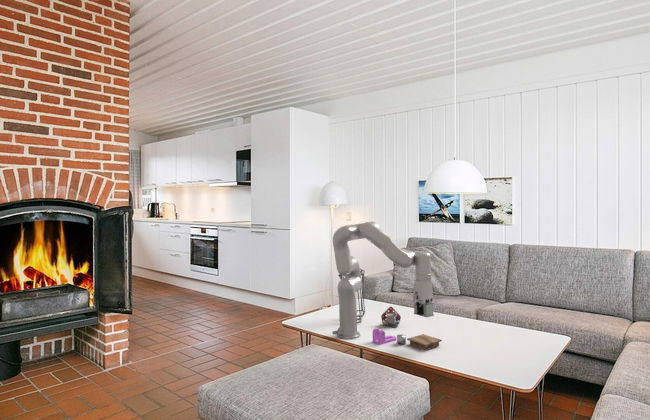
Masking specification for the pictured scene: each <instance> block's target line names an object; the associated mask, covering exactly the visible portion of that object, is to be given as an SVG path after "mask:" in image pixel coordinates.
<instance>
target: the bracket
mask: <svg viewBox="0 0 650 420" xmlns="http://www.w3.org/2000/svg"><path fill="white" fill-rule="evenodd" d="M395 341H396V342H397V335H386V331H384V330H382V329H381V330H380V328H377V327H375V328H373V329H372V343H374V344H376V345H378V346H381V345H385V344H389V343H392V342H393V343H394V342H395Z"/></svg>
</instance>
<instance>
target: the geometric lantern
mask: <svg viewBox="0 0 650 420" xmlns="http://www.w3.org/2000/svg"><path fill="white" fill-rule="evenodd" d="M360 273H361V279H362V284H363V282H364V278H365V270H364V269H362V268H360ZM338 277H339V279H340V281H341V280H342V279H343V278H345V275H341V274H339V273H338ZM359 295H360V296H359ZM364 297H365V296H364V290H363V285H362V286H361V288H360V290H359V292H357V300H358V309H359V310H358V309H357V312H359V313H358V314H357V324H358V323H359V324H360V323H362V318H363V317H365V313H366V308H365V307H366V305H365V299H364ZM358 320H359V321H358Z"/></svg>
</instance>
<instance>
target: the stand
mask: <svg viewBox="0 0 650 420" xmlns="http://www.w3.org/2000/svg"><path fill="white" fill-rule="evenodd" d="M406 341H409V345H410V346H412V347H415V348H418V349H422V350H424V351H425V350H430V349H434V348H436V347H439V346H440V343H441V342H442V341H443V340H442V339H440V338H436V337H434V336H430V335H428V334H424V333H423V334H419V335H416V336H412V337H409V338H406Z"/></svg>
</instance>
